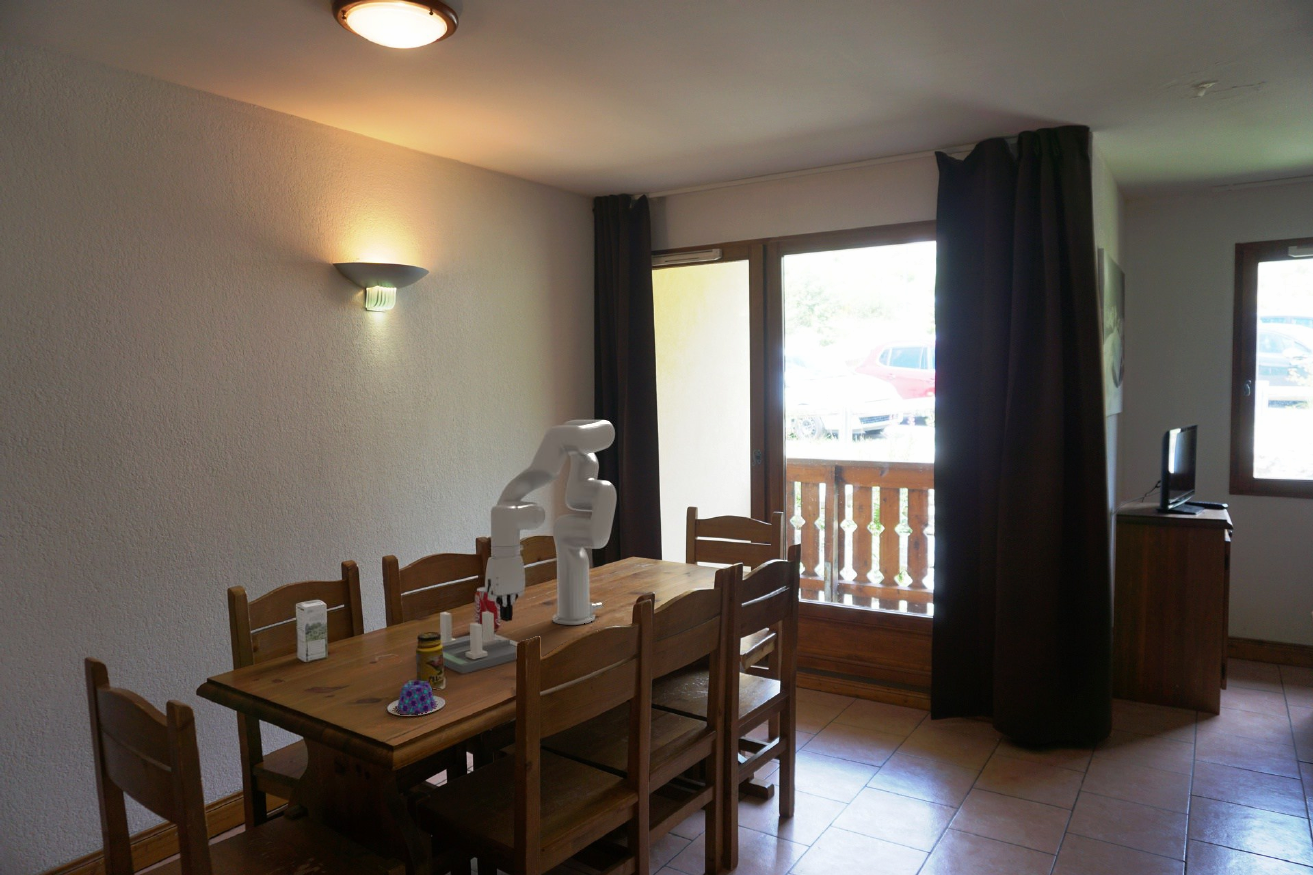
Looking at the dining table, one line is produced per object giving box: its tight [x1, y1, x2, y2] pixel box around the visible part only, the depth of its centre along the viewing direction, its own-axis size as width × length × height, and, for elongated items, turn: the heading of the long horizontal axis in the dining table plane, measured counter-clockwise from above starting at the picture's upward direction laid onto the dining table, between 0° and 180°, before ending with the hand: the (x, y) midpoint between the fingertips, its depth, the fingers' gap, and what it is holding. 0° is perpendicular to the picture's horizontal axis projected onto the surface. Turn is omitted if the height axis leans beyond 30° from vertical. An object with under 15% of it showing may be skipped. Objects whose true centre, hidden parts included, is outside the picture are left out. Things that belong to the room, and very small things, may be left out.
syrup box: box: [295, 599, 328, 663], centre depth 216 cm, size 6×6×14 cm
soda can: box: [474, 586, 501, 632], centre depth 240 cm, size 7×7×12 cm
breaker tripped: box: [482, 611, 499, 645], centre depth 219 cm, size 4×4×8 cm
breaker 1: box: [439, 611, 457, 645], centre depth 219 cm, size 4×4×8 cm
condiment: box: [408, 631, 447, 690], centre depth 194 cm, size 7×8×12 cm
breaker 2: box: [466, 622, 487, 659], centre depth 208 cm, size 4×4×8 cm
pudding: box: [387, 681, 446, 717], centre depth 181 cm, size 12×12×5 cm
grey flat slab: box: [442, 632, 519, 675], centre depth 217 cm, size 20×22×3 cm
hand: (506, 619), depth 223 cm, fingers closed
